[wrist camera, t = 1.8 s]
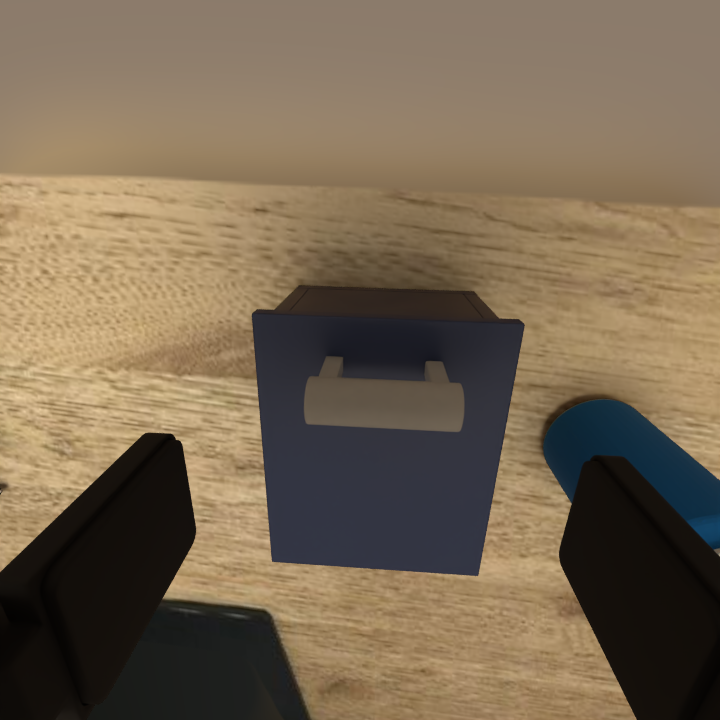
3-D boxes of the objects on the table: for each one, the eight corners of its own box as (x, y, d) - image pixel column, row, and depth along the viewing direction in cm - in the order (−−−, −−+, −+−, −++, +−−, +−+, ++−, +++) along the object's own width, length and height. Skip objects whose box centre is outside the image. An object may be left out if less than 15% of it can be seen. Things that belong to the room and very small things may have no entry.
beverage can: (551, 485, 29) (656, 668, 18) (528, 412, 27) (630, 565, 15) (647, 459, 27) (825, 637, 16) (630, 379, 25) (822, 521, 14)
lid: (256, 308, 16) (208, 348, 12) (519, 318, 16) (570, 364, 11) (275, 551, 21) (246, 641, 17) (475, 564, 21) (499, 661, 16)
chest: (298, 285, 24) (258, 324, 17) (474, 291, 24) (516, 335, 16) (304, 457, 29) (275, 550, 21) (451, 465, 28) (475, 563, 21)
